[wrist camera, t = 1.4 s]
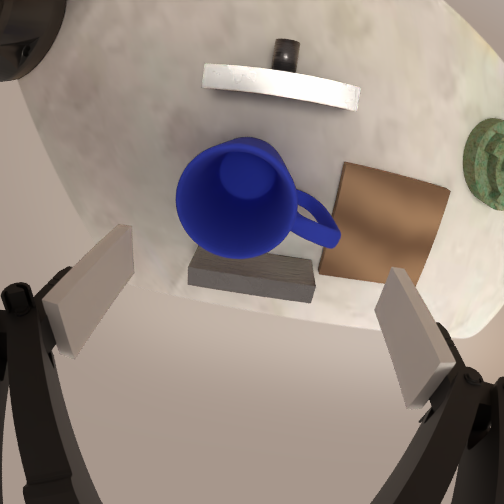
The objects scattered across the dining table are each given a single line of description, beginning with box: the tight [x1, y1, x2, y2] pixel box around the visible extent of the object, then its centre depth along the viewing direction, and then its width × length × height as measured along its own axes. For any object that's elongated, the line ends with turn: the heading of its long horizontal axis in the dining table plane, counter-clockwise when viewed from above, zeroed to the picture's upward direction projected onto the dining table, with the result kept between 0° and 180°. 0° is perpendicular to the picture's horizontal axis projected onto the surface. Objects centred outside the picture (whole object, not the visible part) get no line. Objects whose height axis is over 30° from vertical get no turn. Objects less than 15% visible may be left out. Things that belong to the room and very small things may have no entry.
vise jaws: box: [188, 39, 361, 303], centre depth 27 cm, size 23×12×5 cm, turn 172°
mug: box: [176, 137, 341, 259], centre depth 25 cm, size 8×12×10 cm
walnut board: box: [318, 162, 451, 287], centre depth 30 cm, size 12×12×1 cm
